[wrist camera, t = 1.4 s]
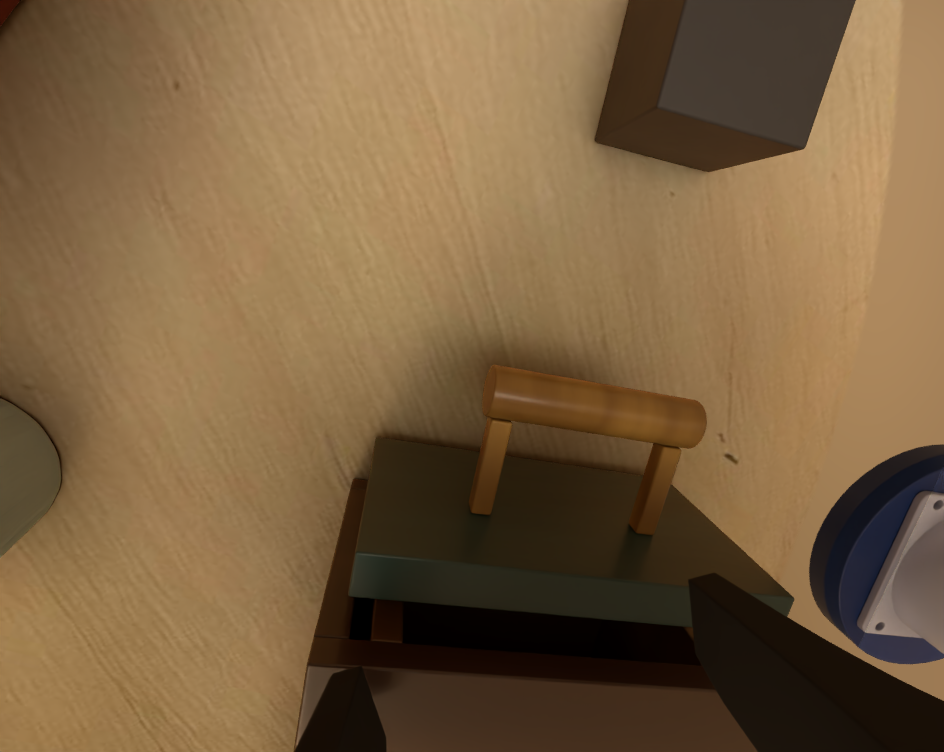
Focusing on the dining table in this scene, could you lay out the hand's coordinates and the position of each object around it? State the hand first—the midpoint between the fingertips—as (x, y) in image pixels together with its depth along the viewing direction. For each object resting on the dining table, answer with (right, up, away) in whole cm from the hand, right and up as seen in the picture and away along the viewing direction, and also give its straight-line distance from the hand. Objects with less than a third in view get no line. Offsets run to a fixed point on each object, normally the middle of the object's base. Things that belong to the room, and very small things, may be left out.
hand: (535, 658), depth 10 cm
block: (+5, +16, +6) cm, 18 cm away
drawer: (0, -1, +9) cm, 9 cm away
